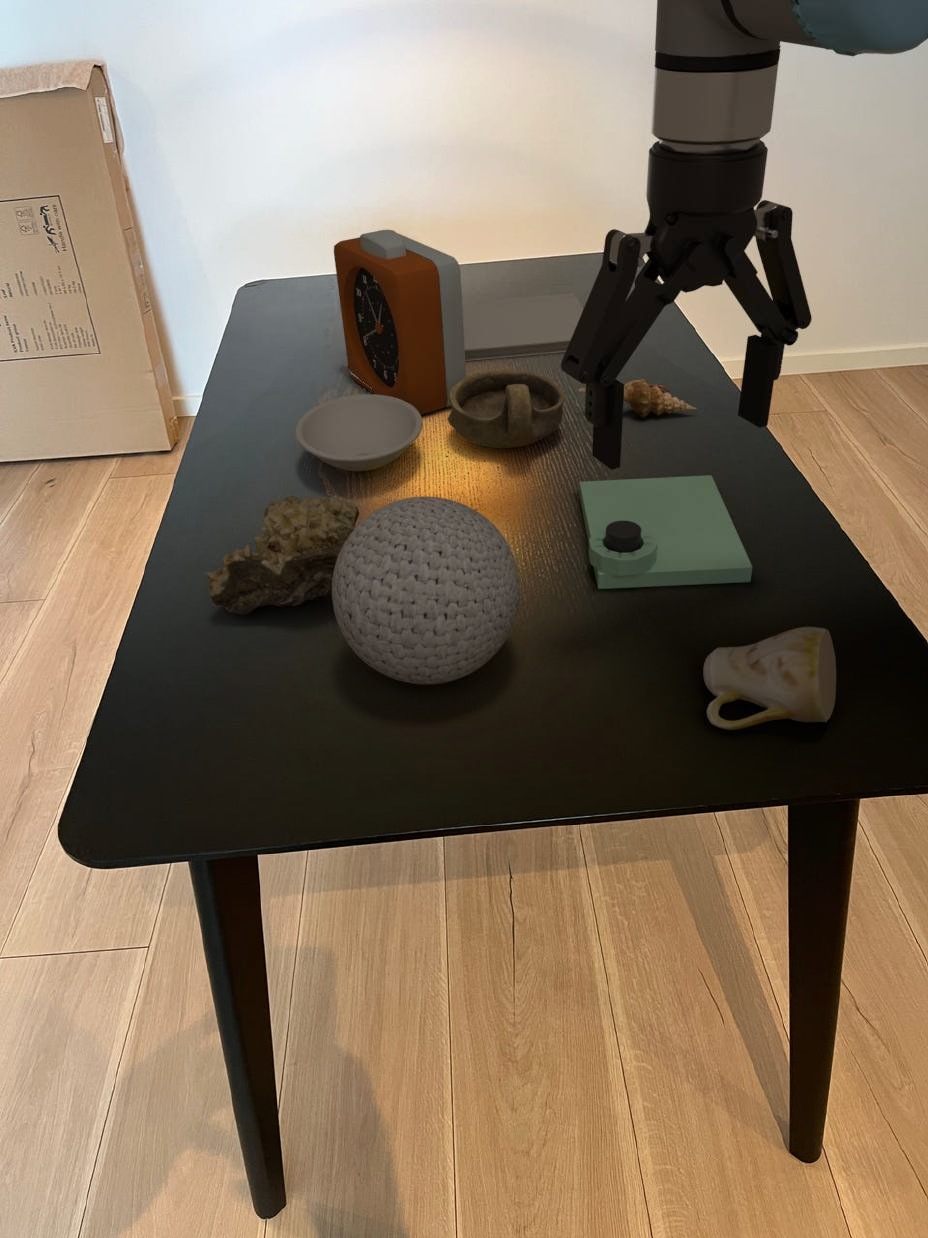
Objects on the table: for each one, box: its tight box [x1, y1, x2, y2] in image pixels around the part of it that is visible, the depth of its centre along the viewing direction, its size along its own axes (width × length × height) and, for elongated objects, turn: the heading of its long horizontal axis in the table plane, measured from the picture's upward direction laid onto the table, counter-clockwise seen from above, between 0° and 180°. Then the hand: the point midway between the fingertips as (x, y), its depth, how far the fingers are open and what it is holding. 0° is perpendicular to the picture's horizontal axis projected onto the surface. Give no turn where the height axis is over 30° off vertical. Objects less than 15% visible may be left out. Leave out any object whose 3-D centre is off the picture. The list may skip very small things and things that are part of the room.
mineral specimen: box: [204, 495, 360, 616], centre depth 90 cm, size 14×13×10 cm
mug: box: [702, 626, 837, 731], centre depth 74 cm, size 8×10×10 cm
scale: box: [578, 474, 753, 590], centre depth 96 cm, size 18×15×4 cm
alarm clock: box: [333, 229, 467, 416], centre depth 124 cm, size 18×9×21 cm, turn 31°
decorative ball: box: [331, 496, 521, 685], centre depth 78 cm, size 15×15×15 cm
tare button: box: [605, 521, 641, 553], centre depth 90 cm, size 3×3×2 cm
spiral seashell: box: [578, 378, 697, 418], centre depth 119 cm, size 14×5×4 cm, turn 101°
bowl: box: [447, 369, 565, 449], centre depth 112 cm, size 14×18×10 cm
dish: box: [295, 393, 424, 472], centre depth 112 cm, size 18×14×5 cm
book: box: [462, 292, 584, 362], centre depth 143 cm, size 15×23×4 cm, turn 96°
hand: (681, 440), depth 75 cm, fingers open, 13 cm apart
